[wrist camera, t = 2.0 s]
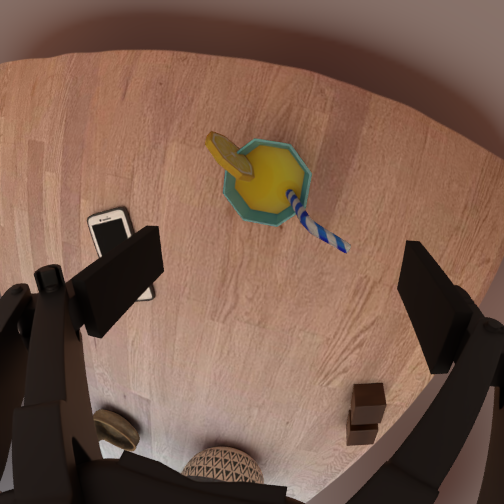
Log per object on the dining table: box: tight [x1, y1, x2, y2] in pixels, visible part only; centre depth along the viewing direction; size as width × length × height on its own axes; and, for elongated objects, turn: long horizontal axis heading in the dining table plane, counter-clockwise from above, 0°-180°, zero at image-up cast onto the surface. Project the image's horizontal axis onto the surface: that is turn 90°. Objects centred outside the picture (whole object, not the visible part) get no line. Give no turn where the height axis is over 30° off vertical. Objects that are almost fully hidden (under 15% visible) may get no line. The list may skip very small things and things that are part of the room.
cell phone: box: [87, 207, 155, 302], centre depth 43 cm, size 8×15×1 cm, turn 12°
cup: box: [205, 131, 351, 253], centre depth 28 cm, size 14×8×15 cm, turn 60°
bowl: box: [93, 409, 140, 451], centre depth 60 cm, size 14×18×10 cm
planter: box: [181, 447, 264, 484], centre depth 50 cm, size 20×20×21 cm
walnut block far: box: [346, 410, 378, 446], centre depth 46 cm, size 5×5×5 cm
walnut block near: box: [351, 383, 386, 425], centre depth 43 cm, size 5×5×5 cm
